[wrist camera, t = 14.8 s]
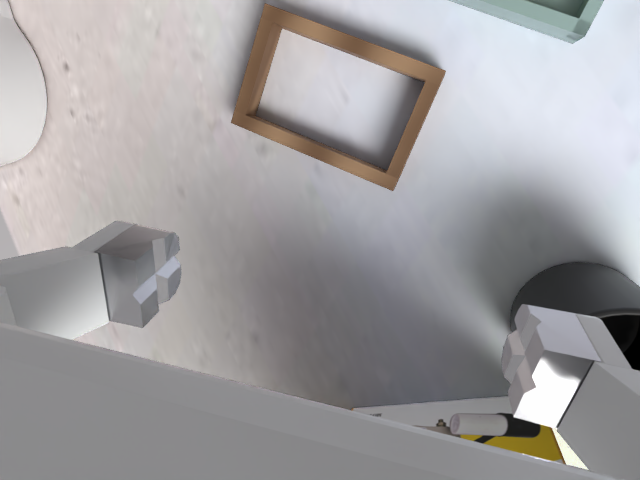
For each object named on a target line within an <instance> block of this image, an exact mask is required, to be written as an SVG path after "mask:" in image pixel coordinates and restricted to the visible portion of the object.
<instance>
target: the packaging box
mask: <svg viewBox="0 0 640 480" xmlns="http://www.w3.org/2000/svg"><path fill="white" fill-rule="evenodd" d="M351 411H355V412H359V413H363V414H367V415H371V416H375V417H379V418H383V419H387V420H391V421H395V422H399V423H403V424H407V425H411V426H415V427H419V428H423V429H427V430H431V431H435V432H439V433H443V434H447V435H451V436H455V437H459V438H463V439H467V440H471V441H475V442H479V443H483V444H487V445H491V446H494V447H498V448H502V449H506V450H510V451H514V452H518V453H522V454H526V455H530V456H534V457H538V458H542V459H546V460H550V461H554V462H558V463H562V464H566V463H565V461H564V458H563V456H562V453H561V451H560V448H559V446H558V443H557V441H556V438H555V435H554V433H553V430H552V428H551V427H548V426H544V425H541V424H537V423H533V422H530V421H526V420H522V419H518V418H515V417H513V413H512V409H511V405H510V401H509V397H508V396H500V397H487V398H475V399H462V400H449V401H436V402H424V403H411V404H398V405H386V406H373V407H360V408H352V410H351Z"/></svg>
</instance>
